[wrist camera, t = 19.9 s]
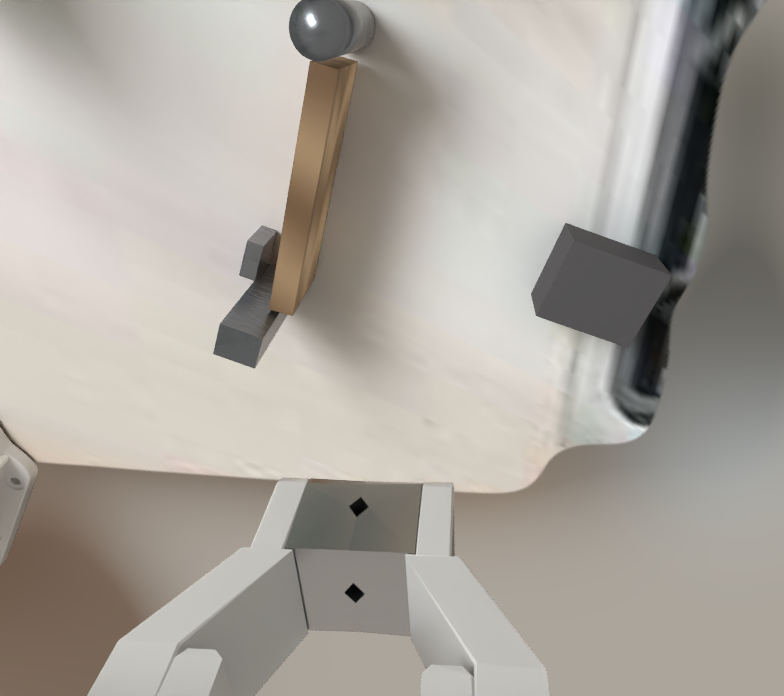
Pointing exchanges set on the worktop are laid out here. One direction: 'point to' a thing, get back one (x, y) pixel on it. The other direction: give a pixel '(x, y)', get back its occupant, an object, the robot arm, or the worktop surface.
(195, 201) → the worktop surface
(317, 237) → the gate
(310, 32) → the hinge post
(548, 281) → the block
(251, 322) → the post
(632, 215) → the worktop surface
